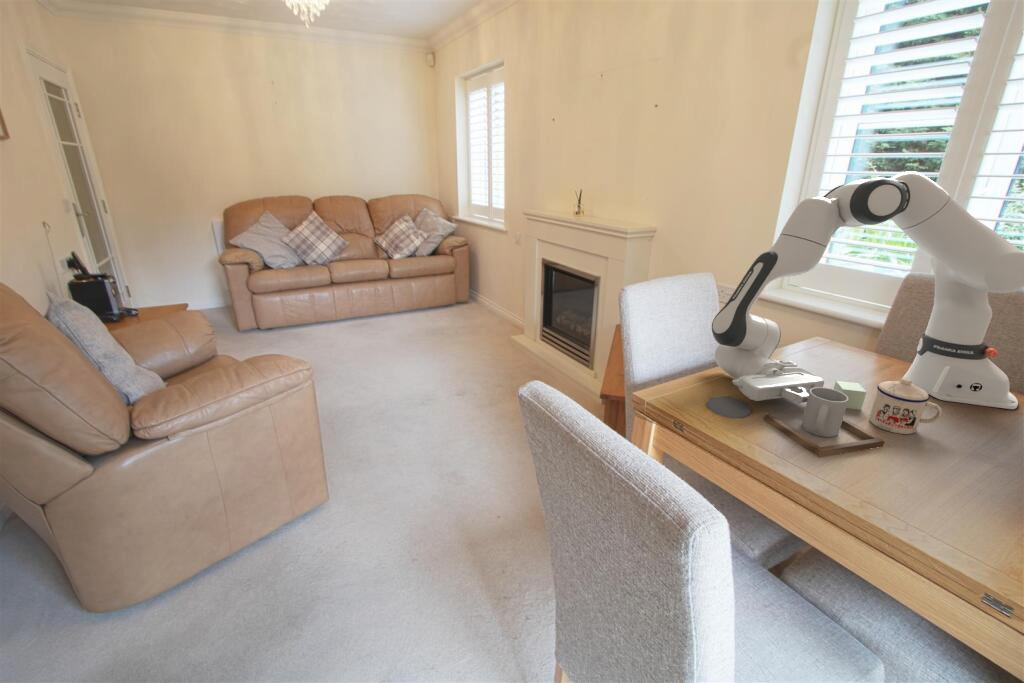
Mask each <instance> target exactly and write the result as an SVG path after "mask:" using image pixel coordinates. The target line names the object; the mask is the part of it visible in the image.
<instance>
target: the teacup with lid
mask: <svg viewBox="0 0 1024 683" xmlns="http://www.w3.org/2000/svg"><path fill="white" fill-rule="evenodd" d="M929 395H930V394H928V393H927V392H926V391H924V390H923V389H921V388H919V387H917V386H915V385H914V384H912V381H911V380H910V379H907V378H903V377H902V378H900V379H899V380H894V381H891V380H888V381H882V382H880V383H878V385H877V391H876V395H875V398H874V402H873V404H872V408H871V411H870V414H869V418H868V419H869V422H870V423H871V424H873V425H874V426H876V427H878V428H879V429H881V430H884V431H887V432H891V433H894V434H901V435H911V434H914V433H916V432H917V430H918V427H919V424H920V423H921V424H932V423H935V422H936V421H938V420H940V418H942V415H943V410H942V407H941V406H939V405H938V404H937V403H933V402H931V401H929V400H930V396H929ZM925 406H926V407H929V408H930V407H931V408H934V409H936V411H937V413H936V414H935V415H934V416H932V417H930V418H922V415H923V412H924V409H925Z"/></svg>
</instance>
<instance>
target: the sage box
mask: <svg viewBox="0 0 1024 683" xmlns="http://www.w3.org/2000/svg"><path fill="white" fill-rule="evenodd" d="M833 390H837V391H839V392H842V393H844V394H845V395H846V396H847V397H848V403H847V406H846V409H852V410H862V408H863V405H864V402H865V398H866V395H867V390H866V389H865V388H864V387H863V386H862V385H861V384H860V383H859V382H851V381H841V380H839V381H838V380H836V381H835V383H834V386H833Z"/></svg>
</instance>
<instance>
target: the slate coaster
mask: <svg viewBox="0 0 1024 683" xmlns="http://www.w3.org/2000/svg"><path fill="white" fill-rule="evenodd" d="M706 408H707V409H708V410H709V411H711V412H712V413H714V414H716V415H719V416H721V417H724V418H730V419H742V418H746V417H749V416H750V414H751V410H752V409H751V406H750V405H749V404H748V403H746V401H743V400H741V399H738V398H735V397H733V396H725V395H723V396H722V395H721V396H713V397H710V398H708V400H707V401H706Z"/></svg>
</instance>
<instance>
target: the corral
mask: <svg viewBox="0 0 1024 683" xmlns="http://www.w3.org/2000/svg"><path fill="white" fill-rule="evenodd" d="M763 420H764V421H765V422H766V423H768V424H770V425H771V426H773V427H774V428H775V429H777V430H779V431H780V432H781V433H783V434H784V435H786V436H787V437H789V438H790V439H791V440H793V441H794V442H796V443H797V444H798V445H800V446H801V447H803V448H805V449H806V450H807V451H809V452H811V453H812V454H813V455H815V456H816V457H818V458H823V457H828V456H834V455H835V454H836V455H841V454H840V453H842V454H846V453H845V452H848V453H853V451H854V452H860V451H866V450H865V449H867V450H871V449H870V448H873V449H878V448H877V447H879V448H883V447H884V445H885V441H886V440H884V439H882V438H881V437H879V436H877V435H875V434H874V433H871V432H870V431H868V430H866V429H864V428H863V427H861V426H860V425H858V424H855V423H854V422H852V421H850V420H848V419H847V418H844V417H843V420H842V424H841V427H842V428H844V429H845V428H846V430H847V429H848V430H847V431H849V432H850V433H852V432H853V433H852V434H854V433H855V435H856V436H858V437H859V436H860V438H861V437H862V438H861V439H862V440H857V441H852V442H845V443H837V444H830V445H825V446H820V445H818V444H817V443H815V442H813V441H812V440H811V439H809V438H807V437H806V436H804V435H803V434H801V433H800V432H798V431H797V430H795V429H794V428H792V427H791V426H789V425H788V424H786V423H784V422H783V421H782V420H780V419H779V418H777V417H776V416H774V415H772V414H771V413H764V416H763ZM863 438H864V439H866V440H864V439H863ZM859 450H860V451H859Z"/></svg>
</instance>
